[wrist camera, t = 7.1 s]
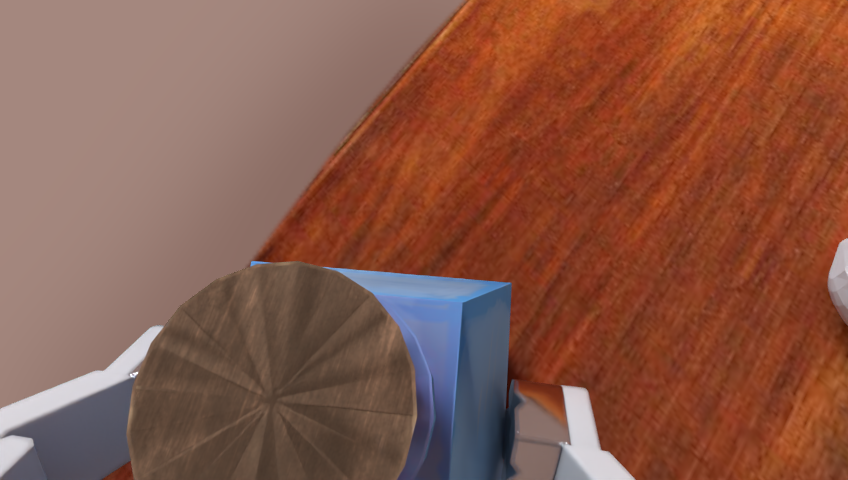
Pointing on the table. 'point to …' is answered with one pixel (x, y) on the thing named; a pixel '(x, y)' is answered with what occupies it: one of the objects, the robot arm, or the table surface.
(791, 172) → the table surface
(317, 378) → the perfume bottle
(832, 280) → the game controller
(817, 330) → the table surface
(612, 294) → the table surface
